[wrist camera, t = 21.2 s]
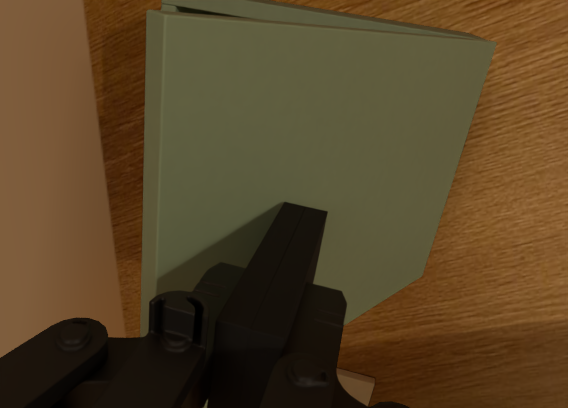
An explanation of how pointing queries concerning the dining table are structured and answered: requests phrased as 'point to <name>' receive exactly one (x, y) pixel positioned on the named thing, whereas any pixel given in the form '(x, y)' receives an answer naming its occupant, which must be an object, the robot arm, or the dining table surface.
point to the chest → (299, 15)
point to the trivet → (356, 385)
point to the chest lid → (300, 146)
